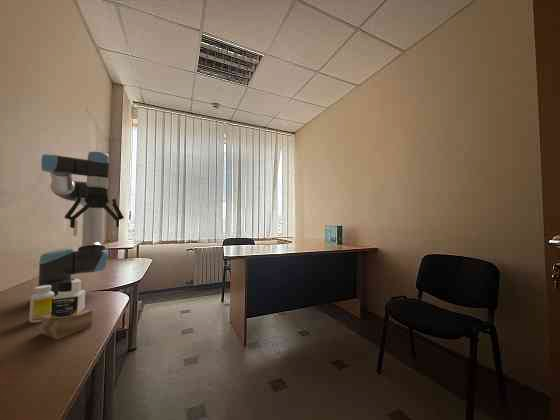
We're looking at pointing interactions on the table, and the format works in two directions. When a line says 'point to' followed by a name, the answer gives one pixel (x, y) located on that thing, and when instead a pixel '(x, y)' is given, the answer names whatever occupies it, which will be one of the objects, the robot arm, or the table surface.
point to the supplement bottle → (40, 303)
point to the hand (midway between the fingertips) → (95, 235)
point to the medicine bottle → (68, 299)
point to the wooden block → (66, 324)
